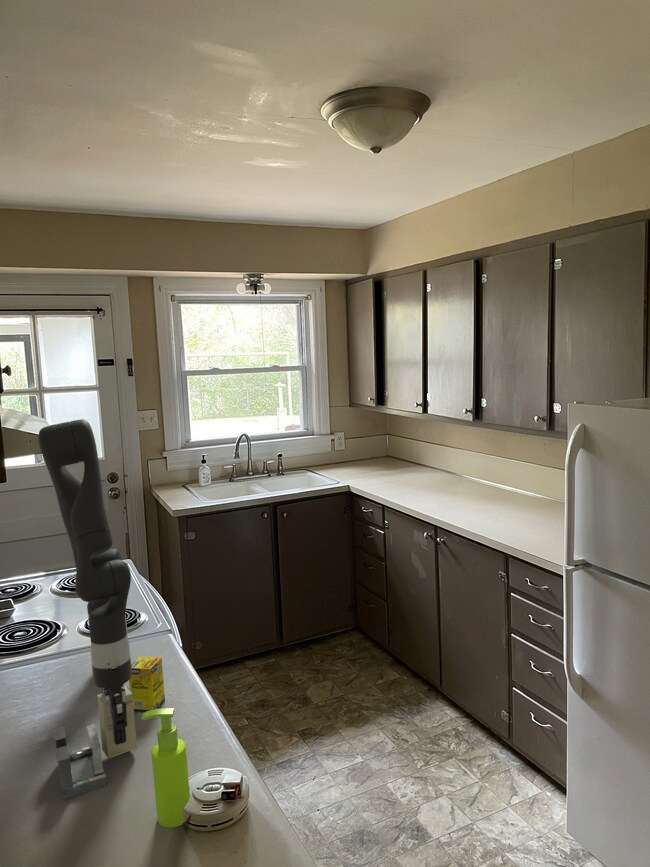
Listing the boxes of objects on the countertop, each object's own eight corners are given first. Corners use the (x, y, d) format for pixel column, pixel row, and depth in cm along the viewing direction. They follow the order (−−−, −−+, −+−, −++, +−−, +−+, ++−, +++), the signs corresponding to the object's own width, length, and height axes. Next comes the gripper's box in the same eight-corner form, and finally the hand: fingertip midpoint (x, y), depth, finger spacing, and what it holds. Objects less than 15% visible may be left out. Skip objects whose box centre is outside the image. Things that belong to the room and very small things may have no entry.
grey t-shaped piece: (58, 762, 130) (55, 735, 129) (97, 751, 133) (94, 724, 133) (62, 790, 121) (59, 760, 121) (103, 777, 125) (100, 748, 124)
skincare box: (107, 760, 130) (101, 703, 128) (101, 749, 133) (95, 694, 132) (138, 747, 133) (133, 693, 132) (131, 737, 137) (126, 684, 135)
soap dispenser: (154, 806, 117) (145, 704, 115) (193, 802, 118) (184, 700, 115) (148, 830, 111) (138, 722, 109) (189, 825, 112) (179, 718, 109)
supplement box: (154, 713, 148) (150, 669, 147) (131, 712, 150) (126, 667, 148) (166, 700, 154) (162, 656, 153) (143, 698, 155) (139, 655, 154)
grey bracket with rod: (57, 765, 131) (53, 729, 130) (98, 752, 135) (95, 717, 134) (62, 799, 120) (58, 761, 119) (106, 785, 124) (103, 747, 123)
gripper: (87, 649, 135) (95, 724, 138) (96, 678, 123) (104, 760, 125) (124, 640, 139) (131, 714, 141) (136, 667, 126) (143, 748, 128)
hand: (118, 735), depth 133 cm, fingers closed on skincare box, 4 cm apart
